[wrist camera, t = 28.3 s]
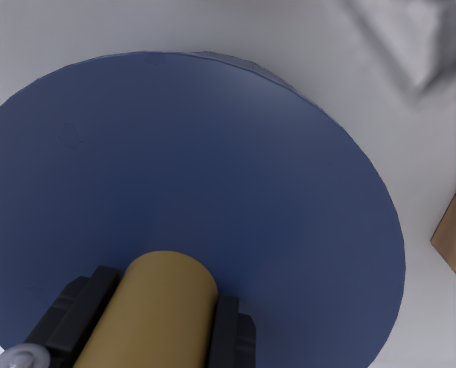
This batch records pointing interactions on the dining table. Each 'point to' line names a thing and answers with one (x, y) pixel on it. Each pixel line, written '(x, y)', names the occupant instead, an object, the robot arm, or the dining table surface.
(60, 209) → the tin lid
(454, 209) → the piece
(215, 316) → the robot arm
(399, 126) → the dining table surface
